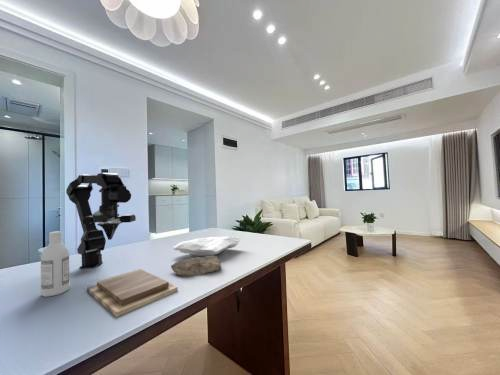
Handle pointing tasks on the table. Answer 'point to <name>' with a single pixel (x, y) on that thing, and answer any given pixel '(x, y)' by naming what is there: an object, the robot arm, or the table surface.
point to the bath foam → (54, 267)
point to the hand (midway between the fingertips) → (110, 239)
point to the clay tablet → (196, 266)
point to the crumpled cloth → (207, 245)
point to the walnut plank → (132, 286)
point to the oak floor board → (120, 310)
